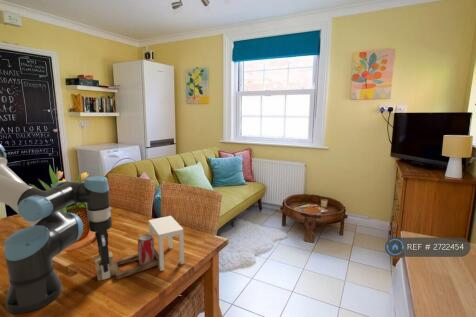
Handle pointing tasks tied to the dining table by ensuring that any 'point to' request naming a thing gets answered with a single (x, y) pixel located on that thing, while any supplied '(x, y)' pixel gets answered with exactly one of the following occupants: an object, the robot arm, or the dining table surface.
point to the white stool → (167, 236)
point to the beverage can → (146, 249)
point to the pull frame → (114, 264)
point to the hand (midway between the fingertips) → (105, 274)
